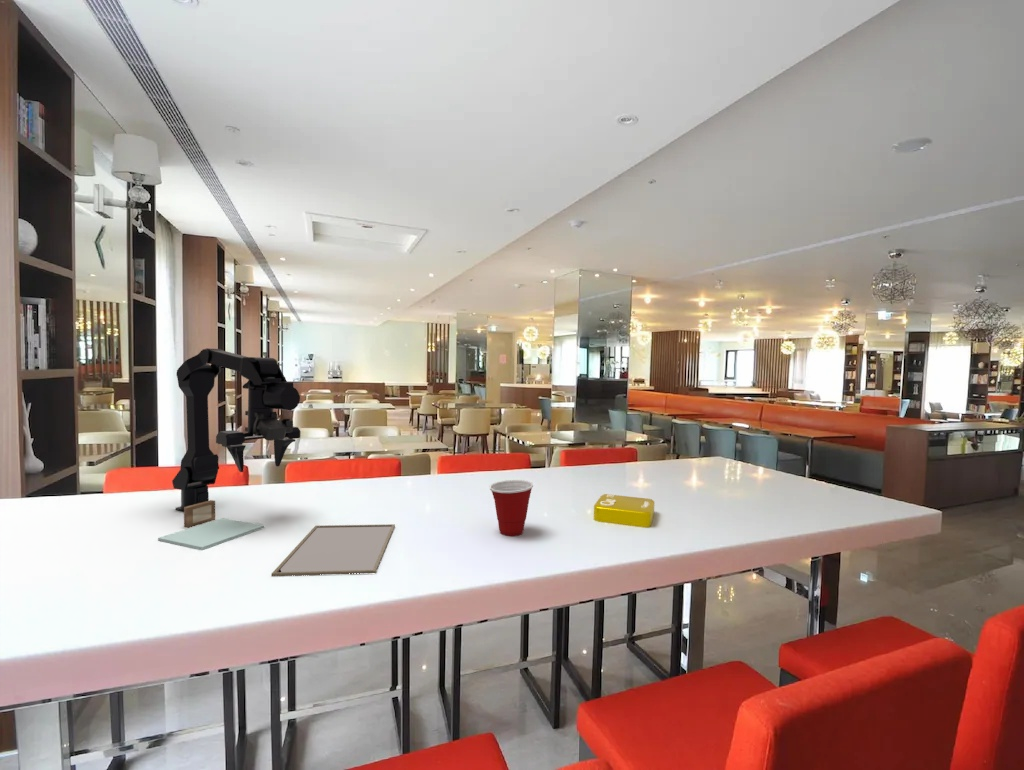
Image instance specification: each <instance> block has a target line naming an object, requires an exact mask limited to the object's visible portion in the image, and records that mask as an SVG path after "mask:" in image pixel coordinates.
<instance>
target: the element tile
mask: <svg viewBox="0 0 1024 770" xmlns="http://www.w3.org/2000/svg"><path fill="white" fill-rule="evenodd" d="M654 517H655V501H654V500H653V499H652V498H645V497H644V498H643V497H635V496H627V495H619V494H618V495H617V494H609V493H606V494H605V493H604V494H602V495H601V496H600V497H598V499H597V501H596V502H595V503H594V505H593V520H594V521H595V522H598V523H604V524H605V523H606V524H613V525H620V526H629V527H630V526H631V527H635V528H636V527H637V528H650V527H652V523H653V519H654Z"/></svg>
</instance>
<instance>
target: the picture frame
mask: <svg viewBox="0 0 1024 770" xmlns="http://www.w3.org/2000/svg"><path fill="white" fill-rule="evenodd" d="M394 529H396V524H342V525H340V524H339V525H337V524H335V525H333V524H332V525H331V524H329V525H315V526H314V527H313V528H312V529H311V530H310V531H309V532H308V533H307V534H306V535H305V537H303V539H301V541H300V542H299V543H298V544H297V545H296V546H295V547H294V549H292V550H291V551H290V553H289V554H288V555H287V556H286V557H285V558H284V559H283V561H282V562H281V563H280V564H279V565H278V566H277V567H276V568H275V569H274V570H273V571H272V572H271V577H299V576H302V575H303V576H304V575H305V576H306V575H307V576H308V575H309V576H323V575H322V574H349V573H350V575H361V574H360V573H377V571H378V569H379V567H380V564H381V562H380V561H382V559H383V557H384V555H385V552H386V549H387V547H388V544H389V542H390V540H391V537H392V535H393V532H394ZM377 568H378V569H377ZM376 570H377V571H376ZM352 573H353V574H352ZM354 573H356V574H354ZM357 573H359V574H357ZM320 574H321V575H320ZM292 575H293V576H292ZM294 575H295V576H294ZM305 576H304V577H305Z"/></svg>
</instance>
